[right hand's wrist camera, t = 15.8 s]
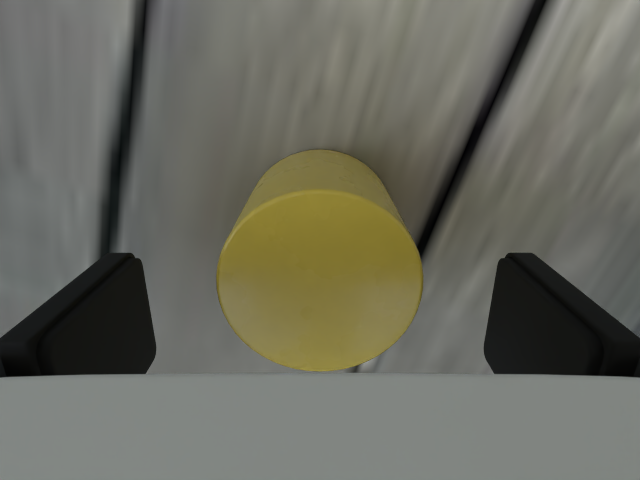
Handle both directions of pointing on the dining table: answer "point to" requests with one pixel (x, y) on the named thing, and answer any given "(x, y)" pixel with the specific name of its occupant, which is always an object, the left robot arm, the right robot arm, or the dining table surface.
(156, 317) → the dining table surface
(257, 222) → the tin
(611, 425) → the right robot arm
